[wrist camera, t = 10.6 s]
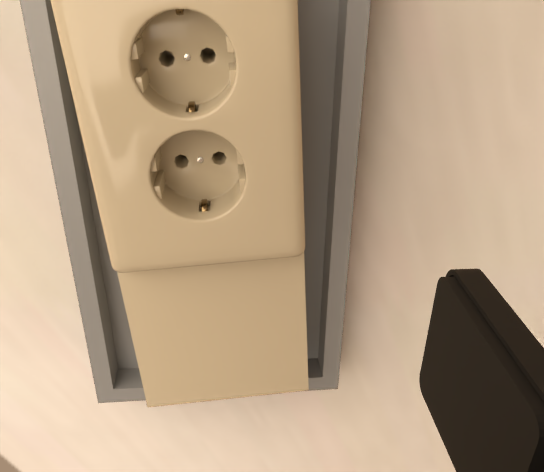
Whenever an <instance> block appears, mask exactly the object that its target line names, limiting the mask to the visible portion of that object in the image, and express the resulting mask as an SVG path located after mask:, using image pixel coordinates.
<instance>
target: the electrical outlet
mask: <svg viewBox="0 0 544 472" xmlns="http://www.w3.org/2000/svg"><path fill="white" fill-rule="evenodd" d="M51 4H52V9H53V13H54V17H55V22H56V26H57V31H58V35H59V39H60V44H61V48H62V52H63V57H64V61H65V65H66V70H67V74H68V78H69V83H70V87H71V91H72V96H73V100H74V104H75V109H76V113H77V117H78V122H79V126H80V130H81V135H82V139H83V143H84V148H85V152H86V156H87V161H88V165H89V169H90V174H91V178H92V182H93V187H94V191H95V196H96V200H97V204H98V209H99V213H100V217H101V222H102V226H103V230H104V235H105V239H106V243H107V248H108V252H109V256H110V261H111V265H112V267H113V269H114V270H115V271H117V274H118V278H119V283H120V287H121V291H122V296H123V300H124V305H125V309H126V313H127V318H128V322H129V327H130V331H131V336H132V340H133V344H134V349H135V353H136V358H137V362H138V367H139V371H140V375H141V380H142V384H143V389H144V393H145V398H146V402H147V406H148V407H156V406H165V405H174V404H184V403H193V402H202V401H212V400H221V399H230V398H240V397H249V396H258V395H268V394H277V393H286V392H296V391H305V390H309V385H308V355H307V324H306V294H305V263H304V250H305V246H306V243H305V211H304V179H303V146H302V114H301V82H300V50H299V18H298V0H51Z"/></svg>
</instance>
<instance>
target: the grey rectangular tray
mask: <svg viewBox="0 0 544 472" xmlns="http://www.w3.org/2000/svg"><path fill="white" fill-rule="evenodd" d="M370 3H371V0H298V18H299V50H300V82H301V114H302V146H303V179H304V211H305V243H306V246H305V250H304V263H305V294H306V324H307V355H308V385H309V390H326V389H338V381H339V369H340V358H341V346H342V334H343V322H344V310H345V299H346V287H347V275H348V263H349V251H350V239H351V228H352V216H353V204H354V192H355V180H356V169H357V157H358V145H359V133H360V121H361V109H362V98H363V86H364V74H365V62H366V50H367V39H368V27H369V15H370ZM20 4H21V9H22V14H23V20H24V25H25V30H26V35H27V40H28V45H29V50H30V55H31V61H32V66H33V71H34V76H35V81H36V86H37V91H38V96H39V102H40V107H41V112H42V117H43V122H44V127H45V132H46V137H47V143H48V148H49V153H50V158H51V163H52V168H53V173H54V178H55V184H56V189H57V194H58V199H59V204H60V209H61V214H62V219H63V225H64V230H65V235H66V240H67V245H68V250H69V255H70V260H71V266H72V271H73V276H74V281H75V286H76V291H77V296H78V301H79V307H80V312H81V317H82V322H83V327H84V332H85V337H86V342H87V348H88V353H89V358H90V363H91V368H92V373H93V378H94V384H95V389H96V394H97V399H98V403H106V402H123V401H140V400H146V398H145V393H144V389H143V384H142V380H141V375H140V371H139V367H138V362H137V358H136V353H135V349H134V344H133V340H132V336H131V331H130V327H129V322H128V318H127V313H126V309H125V305H124V300H123V296H122V291H121V287H120V283H119V278H118V274H117V271H115V270H114V269H113V267H112V265H111V261H110V256H109V252H108V248H107V243H106V239H105V235H104V230H103V226H102V222H101V217H100V213H99V209H98V204H97V200H96V196H95V191H94V187H93V182H92V178H91V174H90V169H89V165H88V161H87V156H86V152H85V148H84V143H83V139H82V135H81V130H80V126H79V122H78V117H77V113H76V109H75V104H74V100H73V96H72V91H71V87H70V83H69V78H68V74H67V70H66V65H65V61H64V57H63V52H62V48H61V44H60V39H59V35H58V31H57V26H56V22H55V17H54V13H53V9H52V4H51V0H20ZM309 390H305V391H309Z"/></svg>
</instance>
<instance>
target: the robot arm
mask: <svg viewBox="0 0 544 472" xmlns="http://www.w3.org/2000/svg"><path fill="white" fill-rule="evenodd" d="M420 388H421V392H422V395H423V397H424V400H425V402H426V404H427V406H428V409H429V411H430V413H431V415H432V418H433V420H434V422H435V425H436V427H437V429H438V431H439V434H440V436H441V438H442V440H443V443H444V445H445V447H446V449H447V452H448V454H449V456H450V458H451V461H452V463H453V465H454V467H455V470H456V472H544V348H543V347H542V346H541V344H540V343H539V342H538V341H537V339H536V338H535V337H534V336H533V334H532V333H531V332H530V331H529V329H528V328H527V327H526V326H525V324H524V323H523V322H522V321H521V319H520V318H519V317H518V316H517V314H516V313H515V312H514V311H513V309H512V308H511V307H510V306H509V304H508V303H507V302H506V301H505V299H504V298H503V297H502V296H501V294H500V293H499V292H498V291H497V289H496V288H495V287H494V286H493V284H492V283H491V282H490V281H489V279H488V278H487V277H486V276H485V274H484V273H483V272H482V271H481V270H480V269H455V270H450V271H448V273H447V275H446V277H441V278H440V279H439V280H438V283H437V288H436V293H435V299H434V304H433V309H432V314H431V320H430V325H429V330H428V335H427V340H426V346H425V351H424V356H423V361H422V366H421V372H420Z"/></svg>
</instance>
